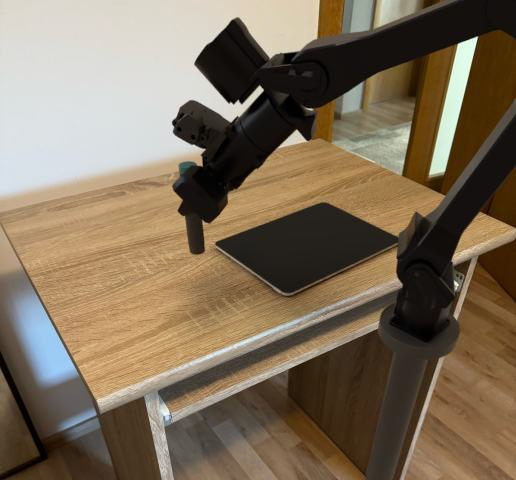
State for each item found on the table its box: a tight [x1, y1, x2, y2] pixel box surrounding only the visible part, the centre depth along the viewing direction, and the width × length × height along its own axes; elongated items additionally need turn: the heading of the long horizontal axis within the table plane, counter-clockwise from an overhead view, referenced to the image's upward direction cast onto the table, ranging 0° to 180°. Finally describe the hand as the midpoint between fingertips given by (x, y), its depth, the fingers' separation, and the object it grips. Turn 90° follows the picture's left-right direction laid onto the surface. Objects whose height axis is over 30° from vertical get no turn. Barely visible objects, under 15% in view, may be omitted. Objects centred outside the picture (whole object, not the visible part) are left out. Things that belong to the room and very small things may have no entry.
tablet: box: [214, 201, 399, 297], centre depth 85 cm, size 27×1×20 cm
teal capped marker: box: [178, 160, 206, 256], centre depth 68 cm, size 2×2×13 cm
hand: (183, 209), depth 69 cm, fingers closed on teal capped marker, 2 cm apart
